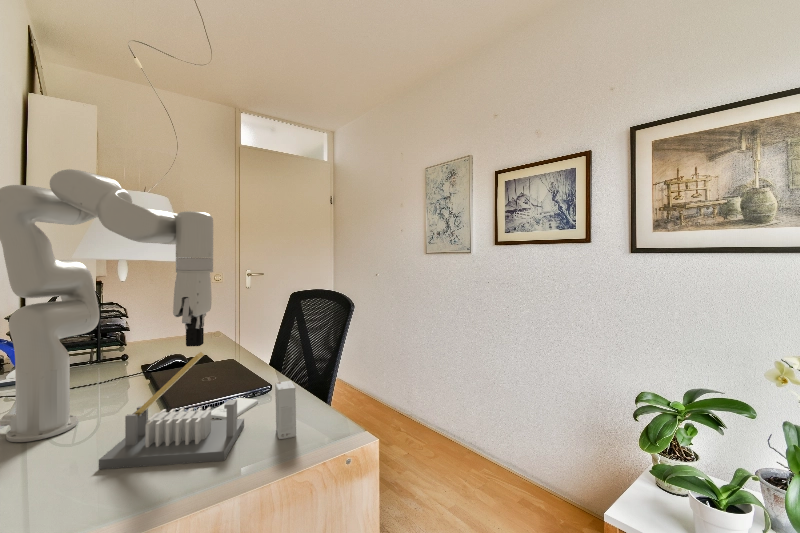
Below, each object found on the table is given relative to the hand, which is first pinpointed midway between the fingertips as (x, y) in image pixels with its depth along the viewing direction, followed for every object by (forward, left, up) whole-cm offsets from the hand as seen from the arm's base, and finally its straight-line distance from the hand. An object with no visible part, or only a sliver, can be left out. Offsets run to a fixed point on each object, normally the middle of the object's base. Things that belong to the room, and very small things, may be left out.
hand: (194, 345), depth 83 cm
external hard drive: (+3, +19, -24) cm, 31 cm away
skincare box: (+20, +3, -23) cm, 31 cm away
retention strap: (-5, 0, -10) cm, 11 cm away
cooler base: (-3, 0, -23) cm, 23 cm away
